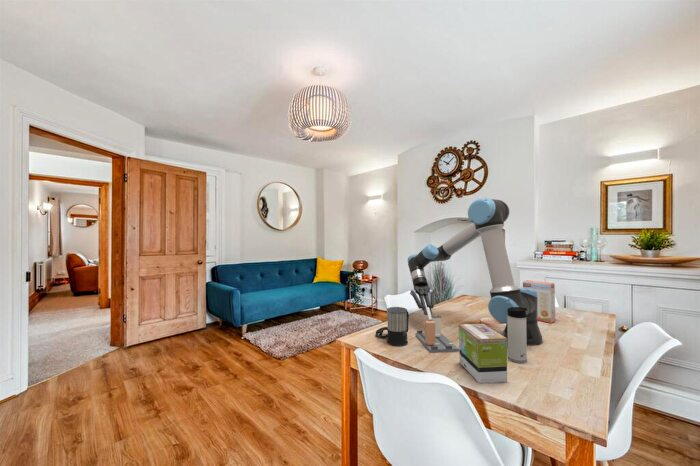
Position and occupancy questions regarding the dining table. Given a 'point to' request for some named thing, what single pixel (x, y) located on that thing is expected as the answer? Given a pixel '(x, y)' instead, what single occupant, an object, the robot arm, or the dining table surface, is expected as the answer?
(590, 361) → the dining table surface
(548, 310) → the cracker box
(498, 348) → the tea box
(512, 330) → the travel mug
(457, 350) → the fader console
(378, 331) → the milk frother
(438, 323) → the ivory fader tab
